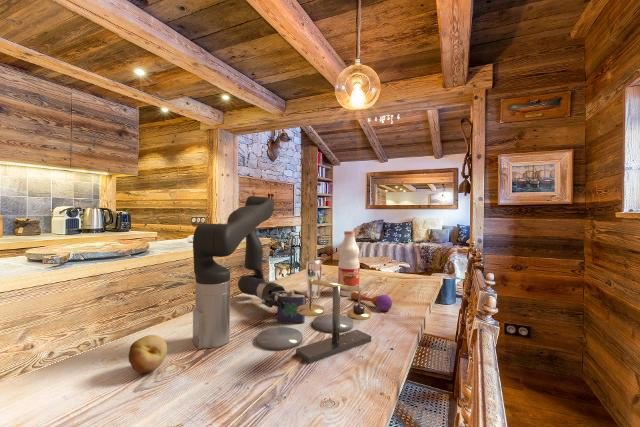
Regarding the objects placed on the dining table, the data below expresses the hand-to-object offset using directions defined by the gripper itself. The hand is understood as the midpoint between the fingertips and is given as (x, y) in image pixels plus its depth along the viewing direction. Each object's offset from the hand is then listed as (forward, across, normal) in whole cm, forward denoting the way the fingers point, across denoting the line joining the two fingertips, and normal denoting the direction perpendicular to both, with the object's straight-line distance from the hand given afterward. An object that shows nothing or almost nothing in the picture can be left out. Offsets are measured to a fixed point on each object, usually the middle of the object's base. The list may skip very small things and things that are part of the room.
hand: (294, 303), depth 101 cm
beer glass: (-22, +24, +7) cm, 33 cm away
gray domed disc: (+8, -10, +7) cm, 14 cm away
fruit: (+5, -43, +7) cm, 44 cm away
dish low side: (+8, +10, +7) cm, 14 cm away
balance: (+21, 0, +7) cm, 22 cm away
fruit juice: (-16, +39, +7) cm, 43 cm away
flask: (-2, 0, +7) cm, 7 cm away
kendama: (+1, +36, +7) cm, 36 cm away
